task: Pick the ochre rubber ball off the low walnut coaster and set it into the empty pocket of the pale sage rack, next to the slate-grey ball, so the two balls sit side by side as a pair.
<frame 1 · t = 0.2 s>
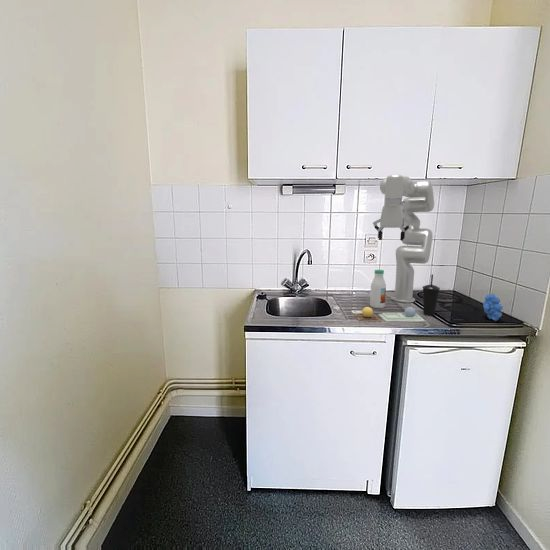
hand: (390, 240, 144), 37 cm above the table, tool pointing down, fingers open, 9 cm apart
milk bottle: (377, 306, 165), on the table
ochre ball: (367, 312, 145), point 3 cm above the table, touching coaster
drinking cup: (428, 314, 150), on the table
grapes: (488, 319, 142), on the table
rack: (401, 318, 145), on the table
coaster: (367, 318, 145), on the table
slate ball: (409, 312, 144), point 3 cm above the table, touching rack
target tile: (358, 312, 154), on the table
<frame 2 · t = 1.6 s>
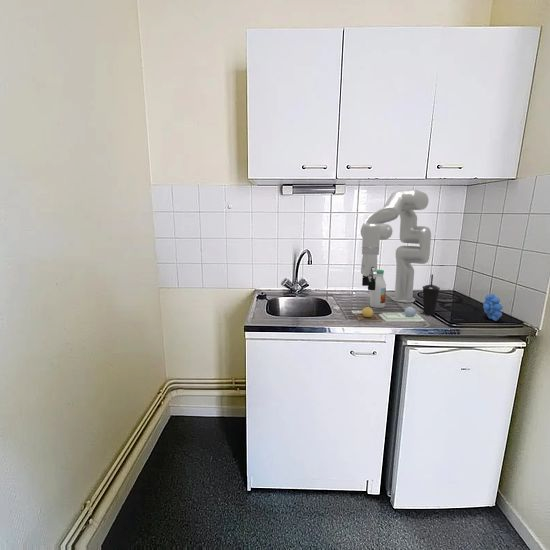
hand: (368, 287, 142), 15 cm above the table, tool pointing down, fingers open, 9 cm apart
nothing on the table moved.
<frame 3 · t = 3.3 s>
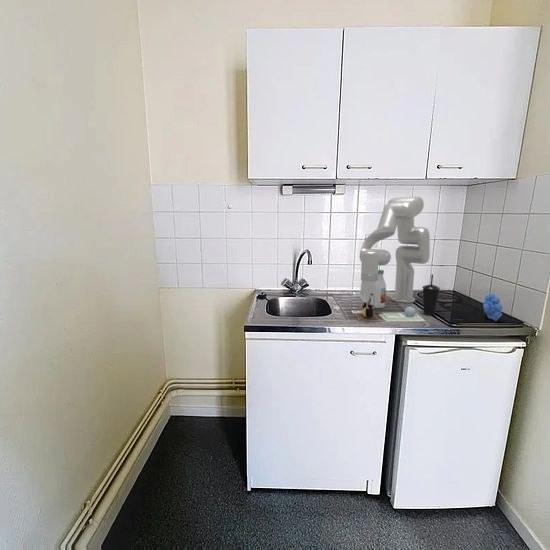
hand: (367, 314, 145), 2 cm above the table, tool pointing down, fingers closed on ochre ball, 4 cm apart
ochre ball: (367, 312, 145), point 3 cm above the table, touching coaster, gripper
everything else where it was.
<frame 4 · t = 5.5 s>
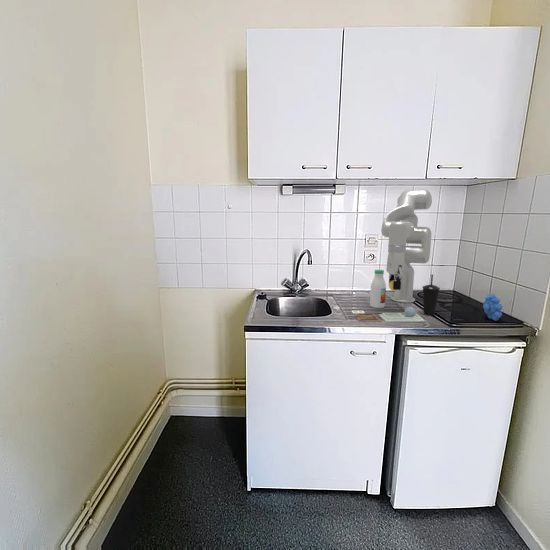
hand: (394, 287, 142), 15 cm above the table, tool pointing down, fingers closed on ochre ball, 4 cm apart
ochre ball: (394, 285, 142), point 16 cm above the table, touching gripper
everything else where it was.
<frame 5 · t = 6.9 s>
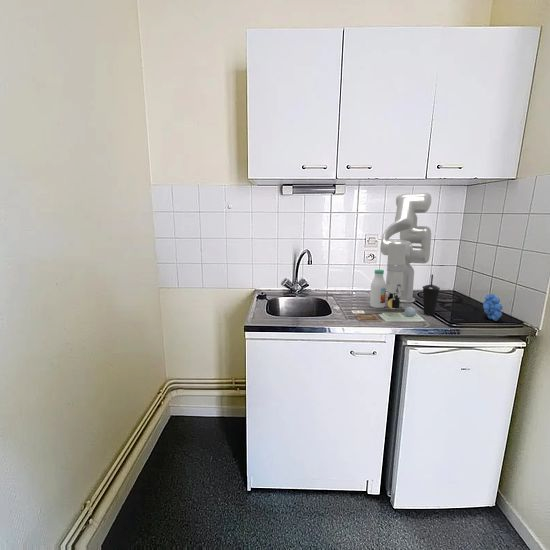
hand: (393, 306, 143), 6 cm above the table, tool pointing down, fingers closed on ochre ball, 4 cm apart
ochre ball: (393, 303, 143), point 7 cm above the table, touching gripper
everything else where it was.
when the fingers open (2 cm above the table, at t = 8.0 s): ochre ball stays where it is, resting on rack.
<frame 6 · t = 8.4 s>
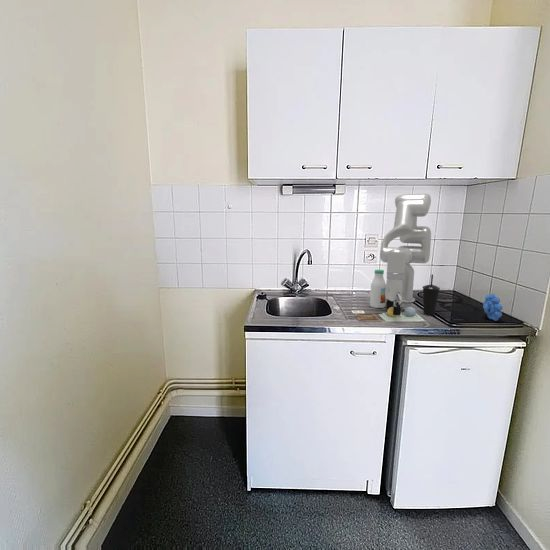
hand: (393, 311, 144), 3 cm above the table, tool pointing down, fingers open, 8 cm apart
ochre ball: (392, 312, 144), point 3 cm above the table, touching rack
everything else where it was.
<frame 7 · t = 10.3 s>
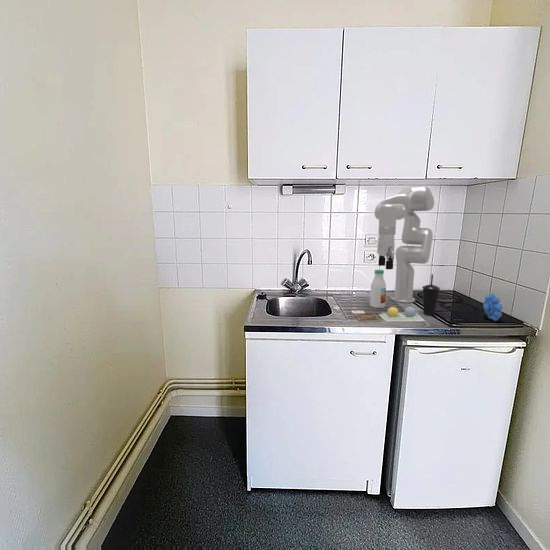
hand: (385, 267, 146), 24 cm above the table, tool pointing down, fingers open, 9 cm apart
nothing on the table moved.
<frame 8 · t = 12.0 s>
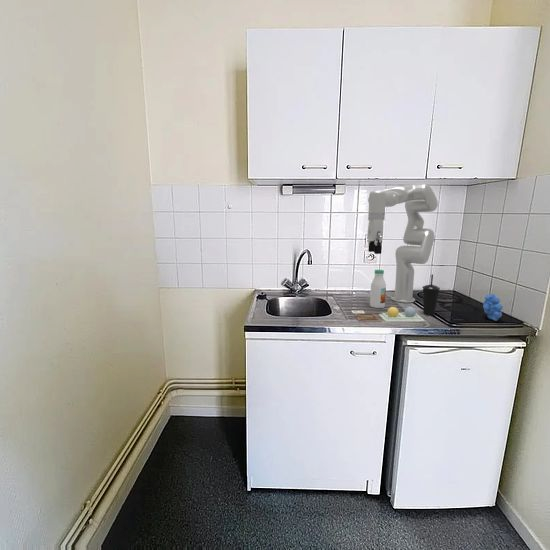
hand: (374, 252, 149), 30 cm above the table, tool pointing down, fingers open, 9 cm apart
nothing on the table moved.
at the end: ochre ball 0.1 cm from the target spot on the rack, point 3.0 cm above the rack's base; slate ball 0.0 cm from the target spot on the rack, point 3.0 cm above the rack's base; the gripper is holding nothing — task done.
